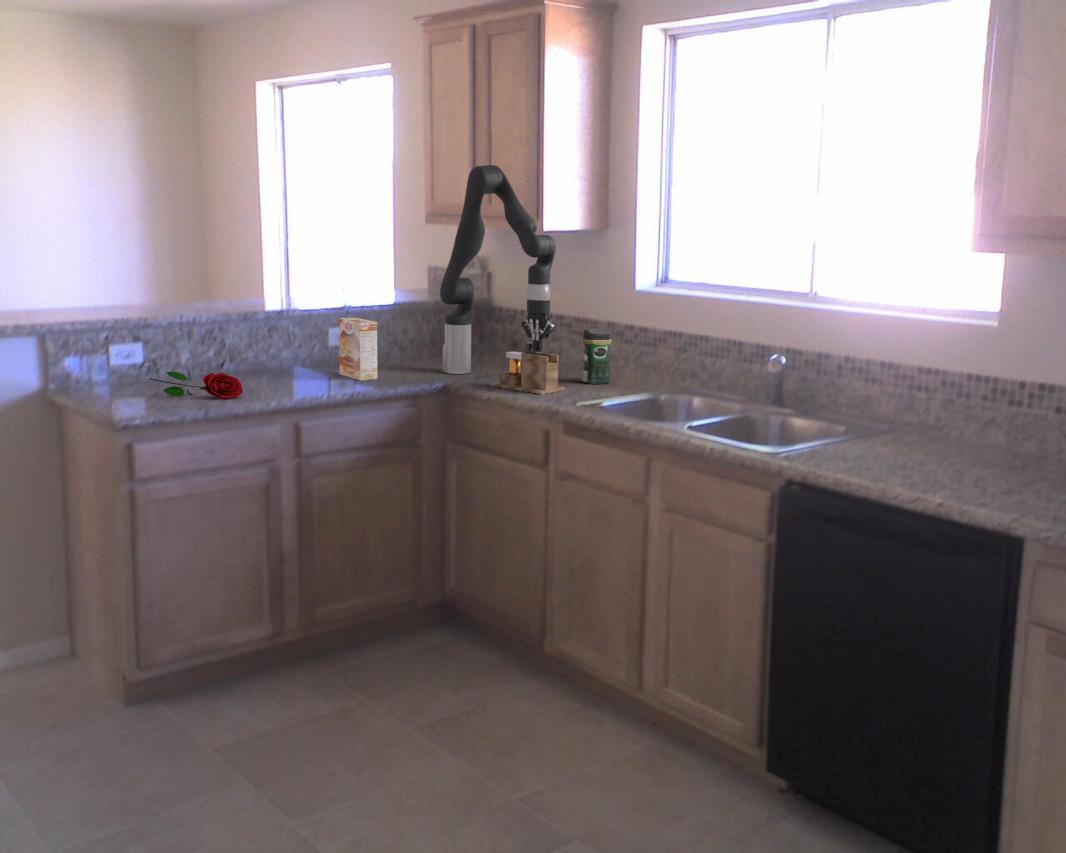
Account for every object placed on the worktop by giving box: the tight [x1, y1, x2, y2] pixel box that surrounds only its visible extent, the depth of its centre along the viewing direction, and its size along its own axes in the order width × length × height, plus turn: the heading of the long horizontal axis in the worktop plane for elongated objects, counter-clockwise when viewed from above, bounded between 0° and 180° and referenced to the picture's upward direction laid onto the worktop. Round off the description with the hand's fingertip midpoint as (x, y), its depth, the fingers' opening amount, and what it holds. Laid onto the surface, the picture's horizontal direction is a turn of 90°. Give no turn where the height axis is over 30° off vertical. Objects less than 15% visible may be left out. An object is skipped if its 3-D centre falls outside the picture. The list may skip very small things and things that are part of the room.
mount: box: [490, 352, 566, 395], centre depth 370 cm, size 22×12×12 cm, turn 50°
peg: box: [508, 358, 522, 376], centre depth 374 cm, size 4×4×8 cm
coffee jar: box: [581, 327, 612, 385], centre depth 383 cm, size 10×8×19 cm
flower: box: [147, 369, 244, 400], centre depth 343 cm, size 9×9×30 cm
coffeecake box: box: [338, 317, 378, 381], centre depth 383 cm, size 15×7×20 cm, turn 37°
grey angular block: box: [505, 341, 541, 361], centre depth 370 cm, size 12×3×6 cm, turn 50°
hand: (537, 351), depth 366 cm, fingers closed
